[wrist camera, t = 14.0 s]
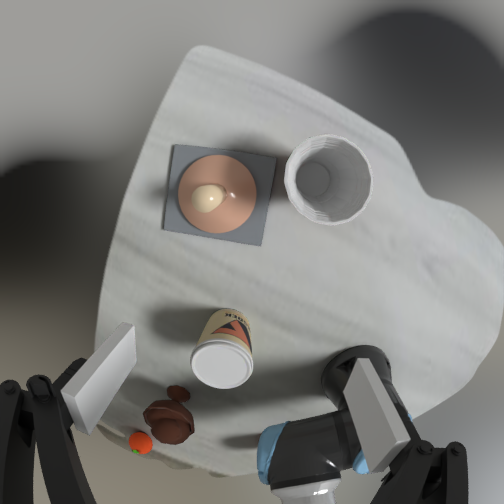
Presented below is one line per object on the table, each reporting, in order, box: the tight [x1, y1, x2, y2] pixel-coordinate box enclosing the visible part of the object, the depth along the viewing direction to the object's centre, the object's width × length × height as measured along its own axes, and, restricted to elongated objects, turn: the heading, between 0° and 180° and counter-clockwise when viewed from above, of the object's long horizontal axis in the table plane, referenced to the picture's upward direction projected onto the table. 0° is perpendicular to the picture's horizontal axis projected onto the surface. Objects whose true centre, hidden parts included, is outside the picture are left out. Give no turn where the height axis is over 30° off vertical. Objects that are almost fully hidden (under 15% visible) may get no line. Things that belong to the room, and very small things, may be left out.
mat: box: [164, 144, 277, 246], centre depth 41 cm, size 16×14×1 cm
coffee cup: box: [190, 309, 253, 389], centre depth 42 cm, size 9×9×12 cm
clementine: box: [129, 432, 153, 454], centre depth 57 cm, size 8×7×7 cm
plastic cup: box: [284, 134, 374, 226], centre depth 35 cm, size 11×11×12 cm
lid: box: [178, 155, 256, 233], centre depth 36 cm, size 12×12×10 cm
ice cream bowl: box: [143, 385, 194, 445], centre depth 46 cm, size 11×11×15 cm
